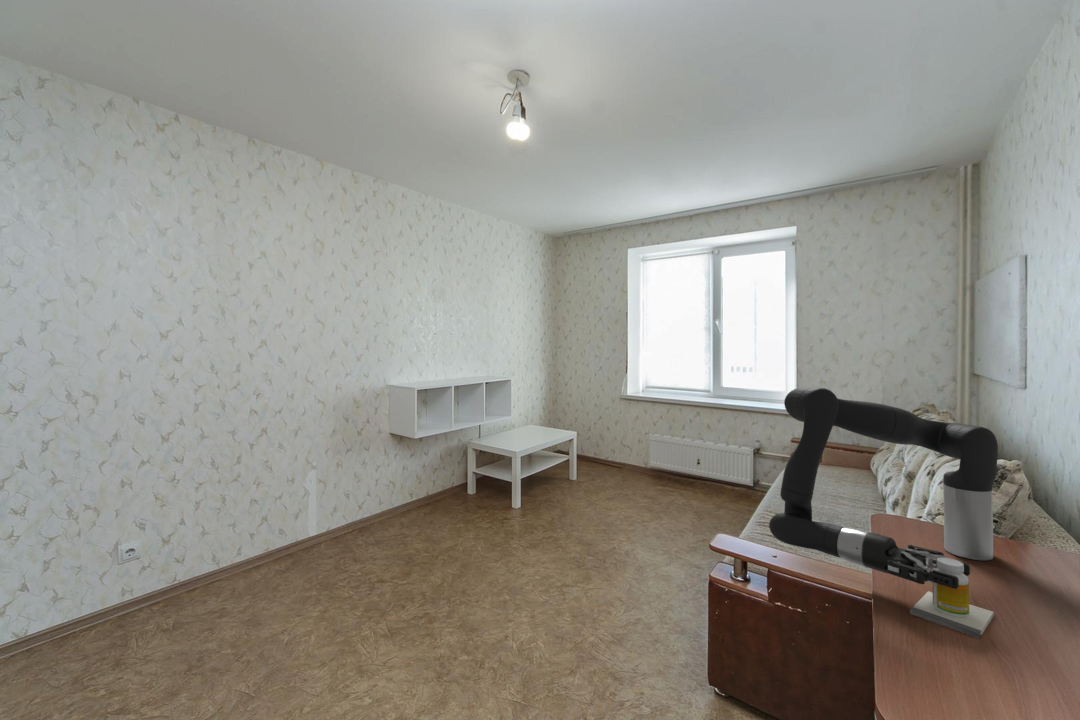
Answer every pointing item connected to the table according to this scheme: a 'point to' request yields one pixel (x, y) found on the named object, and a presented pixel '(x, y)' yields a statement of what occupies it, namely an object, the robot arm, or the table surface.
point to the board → (967, 625)
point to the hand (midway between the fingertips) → (964, 576)
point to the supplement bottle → (951, 590)
